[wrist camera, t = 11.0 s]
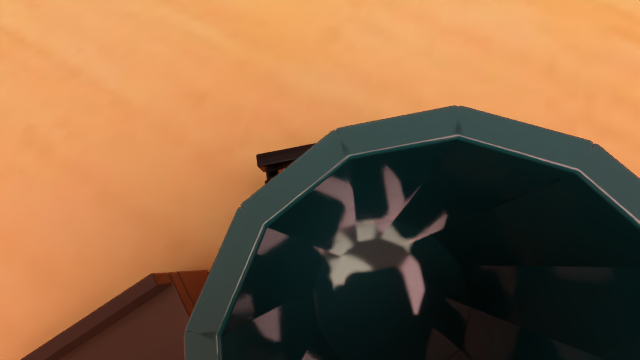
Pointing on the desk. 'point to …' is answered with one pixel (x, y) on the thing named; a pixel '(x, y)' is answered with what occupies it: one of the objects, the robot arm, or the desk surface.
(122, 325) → the shelf
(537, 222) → the cup
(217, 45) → the desk surface
